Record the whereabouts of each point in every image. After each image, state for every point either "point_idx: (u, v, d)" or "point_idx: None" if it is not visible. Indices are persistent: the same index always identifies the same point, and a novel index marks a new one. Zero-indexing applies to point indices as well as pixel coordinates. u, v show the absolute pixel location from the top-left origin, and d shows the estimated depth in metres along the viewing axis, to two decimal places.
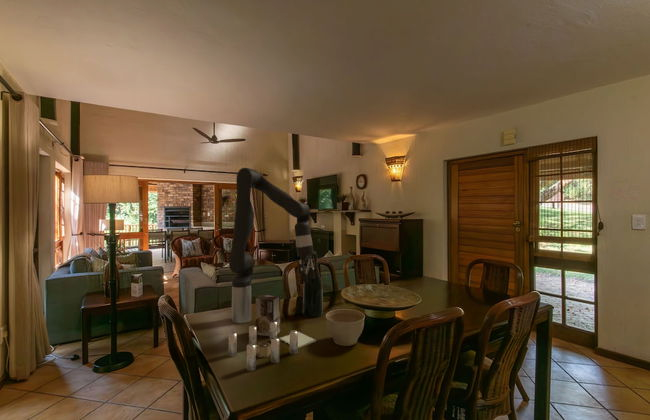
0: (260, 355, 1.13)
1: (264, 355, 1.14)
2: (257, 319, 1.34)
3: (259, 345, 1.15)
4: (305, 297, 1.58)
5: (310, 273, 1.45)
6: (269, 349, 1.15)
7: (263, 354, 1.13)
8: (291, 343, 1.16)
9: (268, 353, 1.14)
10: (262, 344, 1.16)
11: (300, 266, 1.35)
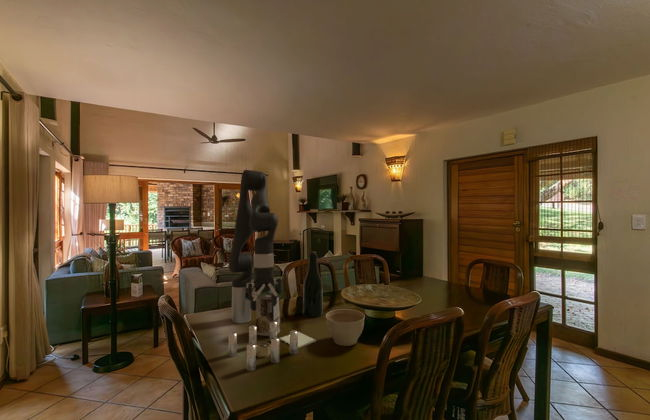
0: (260, 355, 1.13)
1: (264, 355, 1.14)
2: (257, 319, 1.34)
3: (259, 345, 1.15)
4: (305, 297, 1.58)
5: (272, 299, 1.19)
6: (269, 349, 1.15)
7: (263, 354, 1.13)
8: (291, 343, 1.16)
9: (268, 353, 1.14)
10: (262, 344, 1.16)
11: (246, 291, 1.12)
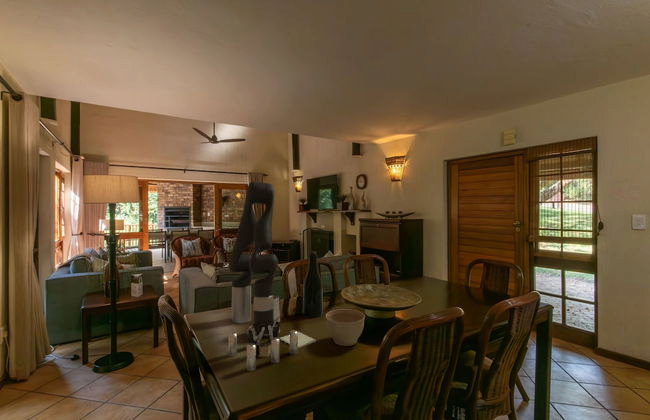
0: (260, 355, 1.13)
1: (264, 355, 1.14)
2: None
3: (259, 345, 1.15)
4: (305, 297, 1.58)
5: None
6: (269, 349, 1.15)
7: (263, 354, 1.13)
8: (291, 343, 1.16)
9: (268, 353, 1.14)
10: (262, 344, 1.16)
11: (248, 337, 1.12)
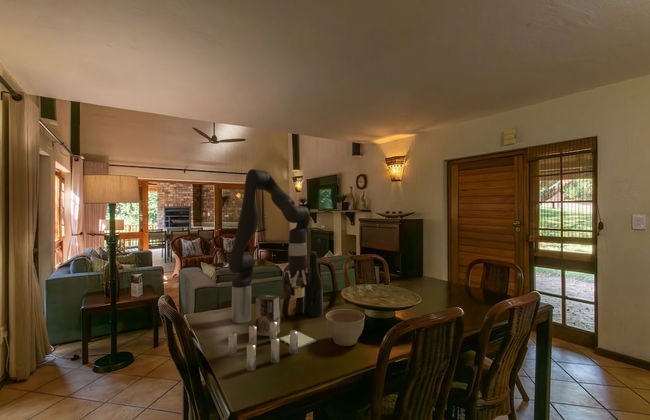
0: (295, 295, 1.25)
1: (299, 296, 1.26)
2: (257, 319, 1.34)
3: (294, 287, 1.28)
4: (305, 297, 1.58)
5: None
6: (303, 291, 1.27)
7: (298, 295, 1.26)
8: (291, 343, 1.16)
9: (302, 294, 1.27)
10: (296, 287, 1.28)
11: (285, 279, 1.24)
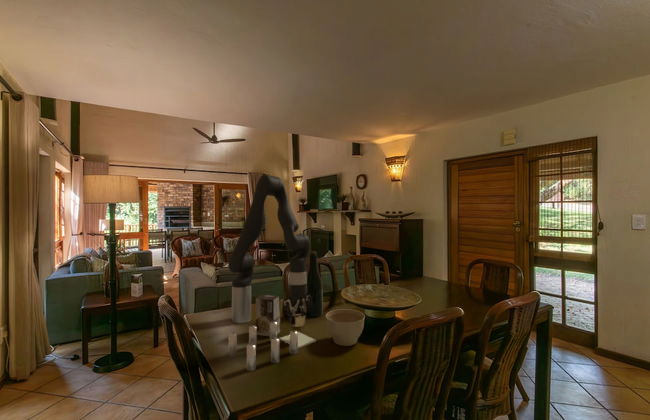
0: (296, 324, 1.25)
1: (299, 324, 1.26)
2: (257, 319, 1.34)
3: None
4: None
5: None
6: (303, 319, 1.27)
7: (298, 324, 1.26)
8: (291, 343, 1.16)
9: (303, 323, 1.27)
10: (297, 315, 1.28)
11: (285, 308, 1.24)
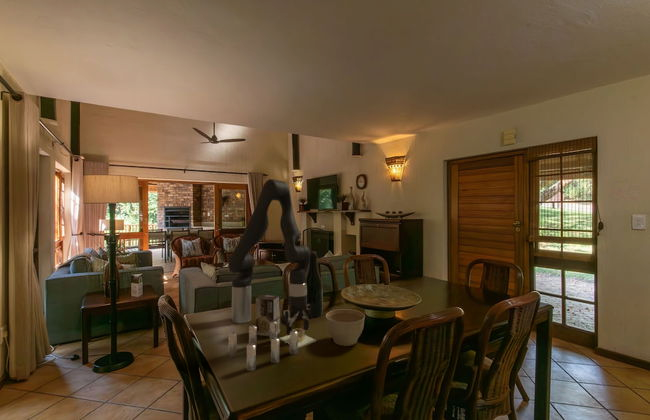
0: None
1: (299, 339, 1.26)
2: (257, 319, 1.34)
3: None
4: None
5: (304, 323, 1.31)
6: (303, 334, 1.27)
7: (298, 339, 1.26)
8: (291, 343, 1.16)
9: (302, 338, 1.27)
10: (297, 330, 1.28)
11: (283, 317, 1.24)
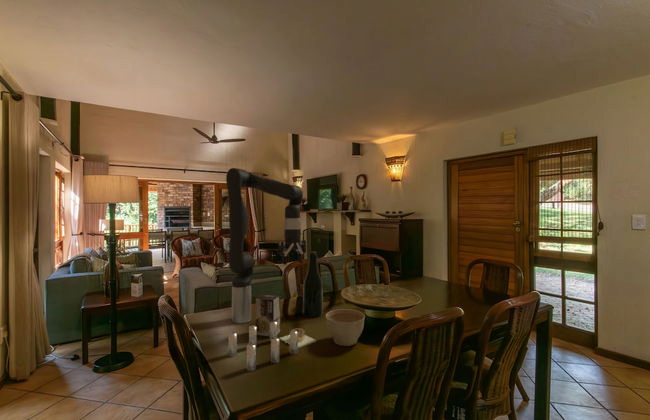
0: None
1: (299, 339, 1.26)
2: (257, 319, 1.34)
3: None
4: (305, 297, 1.58)
5: (298, 257, 1.44)
6: (303, 334, 1.27)
7: (298, 339, 1.26)
8: (291, 343, 1.16)
9: (302, 338, 1.27)
10: (297, 330, 1.28)
11: (279, 248, 1.37)
